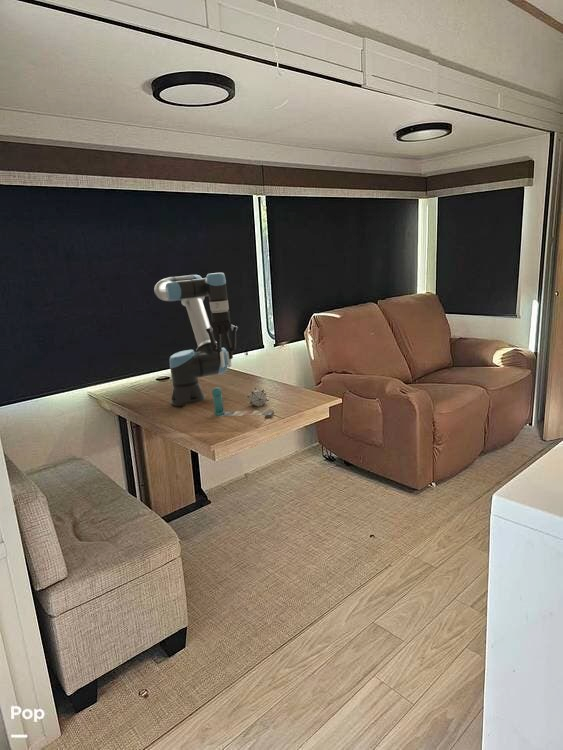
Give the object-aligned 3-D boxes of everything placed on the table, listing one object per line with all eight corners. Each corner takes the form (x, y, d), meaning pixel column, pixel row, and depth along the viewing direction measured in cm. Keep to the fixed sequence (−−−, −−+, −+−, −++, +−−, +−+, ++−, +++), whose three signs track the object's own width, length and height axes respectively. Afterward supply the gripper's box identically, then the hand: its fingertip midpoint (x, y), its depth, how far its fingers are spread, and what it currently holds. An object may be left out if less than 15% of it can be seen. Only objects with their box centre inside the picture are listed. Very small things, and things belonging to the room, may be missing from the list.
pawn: (213, 415, 203) (209, 388, 201) (216, 412, 207) (212, 385, 205) (223, 415, 203) (219, 388, 200) (226, 412, 207) (222, 385, 204)
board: (213, 419, 203) (212, 416, 203) (217, 414, 209) (217, 411, 208) (271, 417, 199) (270, 414, 198) (273, 412, 204) (273, 409, 204)
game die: (257, 417, 212) (245, 403, 206) (253, 405, 219) (240, 391, 213) (275, 405, 212) (262, 391, 206) (269, 394, 218) (257, 379, 212)
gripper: (199, 313, 203) (206, 369, 209) (235, 311, 200) (242, 368, 206) (205, 311, 210) (212, 365, 216) (240, 308, 207) (246, 363, 213)
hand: (226, 366), depth 211 cm, fingers open, 2 cm apart
